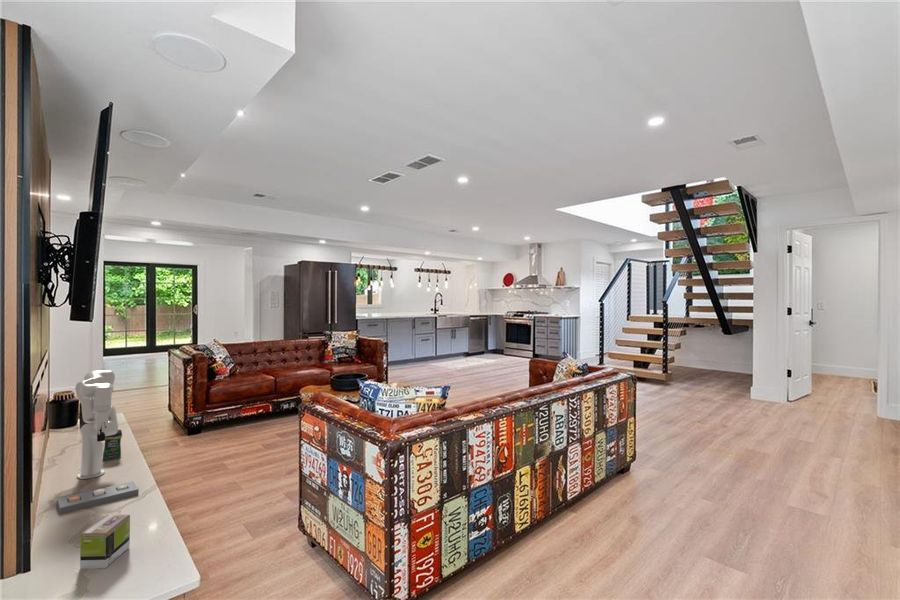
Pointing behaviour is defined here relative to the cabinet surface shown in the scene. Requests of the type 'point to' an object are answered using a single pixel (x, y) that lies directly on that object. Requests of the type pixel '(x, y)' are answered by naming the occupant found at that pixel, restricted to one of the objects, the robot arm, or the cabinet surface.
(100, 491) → the cream button
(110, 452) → the green snack bag
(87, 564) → the tea box
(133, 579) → the cabinet surface
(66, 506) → the button panel
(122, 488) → the sage button
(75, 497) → the terracotta button
